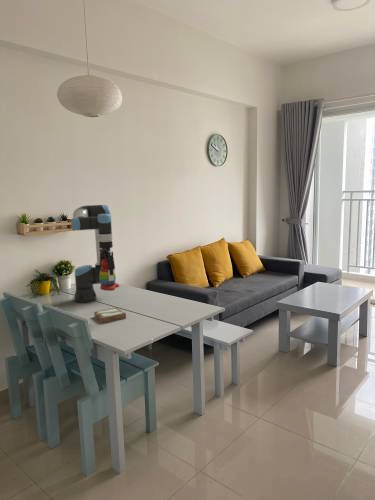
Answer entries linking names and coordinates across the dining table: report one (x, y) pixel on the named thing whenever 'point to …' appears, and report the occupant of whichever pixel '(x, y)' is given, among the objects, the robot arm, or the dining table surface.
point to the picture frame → (110, 315)
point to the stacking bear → (106, 278)
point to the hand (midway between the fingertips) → (107, 278)
